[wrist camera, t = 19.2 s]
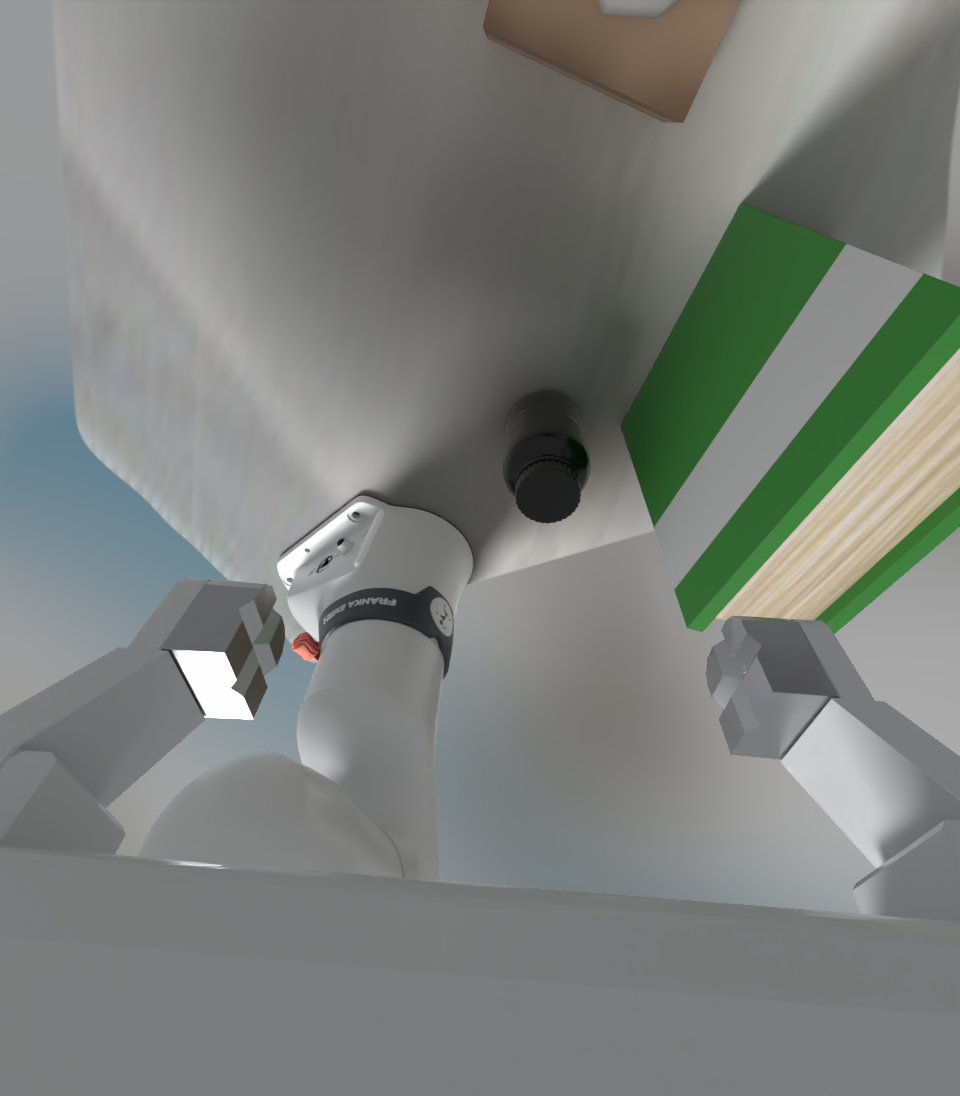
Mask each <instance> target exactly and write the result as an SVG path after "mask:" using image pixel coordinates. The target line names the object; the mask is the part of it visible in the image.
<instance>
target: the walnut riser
mask: <svg viewBox="0 0 960 1096" xmlns="http://www.w3.org/2000/svg"><path fill="white" fill-rule="evenodd" d="M739 1H740V0H680V1H679V2H678V3H677V4H675V5H674V6H673V7H672V8H670V9H669V10H668V11H667V12H666V13H664V14H663V15H662V16H661V17H660V18H648V17H634V16H620V15H606V14H603V13H602V11H601V8H600V5H599V3H598V0H489V4H488V9H487V13H486V17H485V21H484V25H483V28H484V30H485V33H486V35H487V38H489V39H491V40H493V41H495V42H497V43H499V44H501V45H503V46H506V47H508V48H510V49H512V50H514V51H516V52H518V53H520V54H522V55H524V56H527V57H529V58H531V59H533V60H535V61H537V62H539V63H541V64H543V65H545V66H548V67H550V68H552V69H554V70H556V71H558V72H560V73H562V74H564V75H567V76H569V77H571V78H573V79H575V80H577V81H579V82H581V83H583V84H585V85H588V86H590V87H592V88H594V89H596V90H598V91H600V92H602V93H604V94H606V95H609V96H611V97H613V98H615V99H617V100H619V101H621V102H623V103H625V104H627V105H630V106H632V107H634V108H636V109H638V110H640V111H642V112H644V113H646V114H648V115H651V116H653V117H655V118H657V119H659V120H661V121H663V122H684V120H685V118H686V116H687V113H688V111H689V109H690V107H691V105H692V103H693V100H694V98H695V96H696V94H697V92H698V90H699V87H700V85H701V83H702V81H703V79H704V77H705V75H706V72H707V70H708V68H709V66H710V64H711V62H712V59H713V57H714V55H715V53H716V51H717V49H718V46H719V44H720V42H721V40H722V38H723V36H724V34H725V31H726V29H727V27H728V25H729V23H730V21H731V18H732V16H733V14H734V12H735V10H736V8H737V6H738V3H739Z"/></svg>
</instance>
